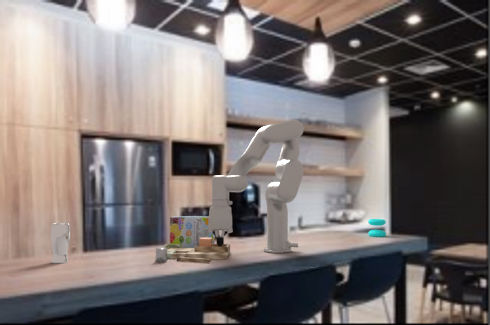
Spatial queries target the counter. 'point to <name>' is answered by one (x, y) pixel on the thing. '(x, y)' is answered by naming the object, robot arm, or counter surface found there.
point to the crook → (193, 259)
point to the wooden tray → (197, 251)
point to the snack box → (189, 230)
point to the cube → (206, 242)
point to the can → (161, 254)
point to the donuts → (377, 223)
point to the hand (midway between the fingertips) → (220, 246)
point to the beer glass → (60, 242)
